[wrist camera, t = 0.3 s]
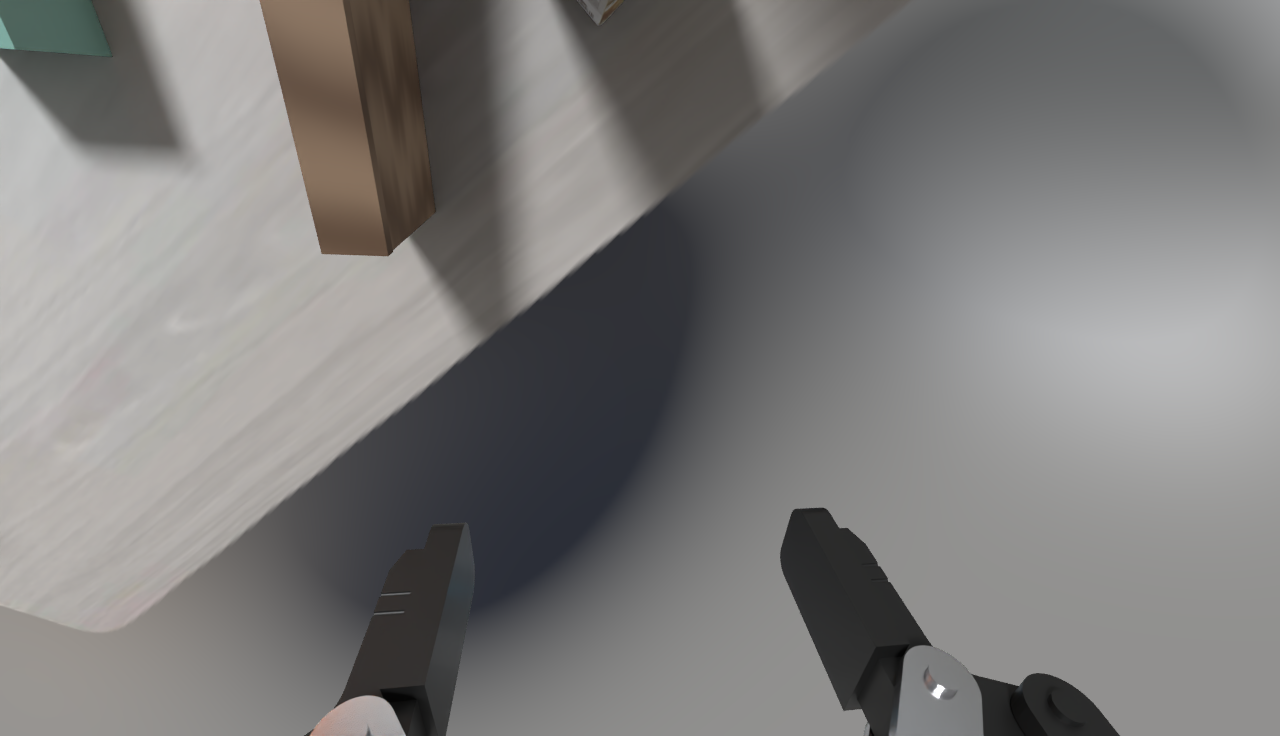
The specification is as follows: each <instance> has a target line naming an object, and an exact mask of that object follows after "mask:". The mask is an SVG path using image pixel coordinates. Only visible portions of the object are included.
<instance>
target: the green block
mask: <svg viewBox="0 0 1280 736" xmlns="http://www.w3.org/2000/svg"><path fill="white" fill-rule="evenodd" d="M0 48H4V49H17V50H29V51H42V52H55V53H68V54H81V55H94V56H106V57H113V56H112V54H111V51H110V48H109V46H108V43H107V41H106V38H105V35H104V33H103V30H102V27H101V25H100V22H99V20H98V17H97V14H96V12H95V9H94V6H93V4H92V1H91V0H0Z"/></svg>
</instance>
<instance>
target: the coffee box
mask: <svg viewBox="0 0 1280 736" xmlns="http://www.w3.org/2000/svg"><path fill="white" fill-rule="evenodd" d="M577 1H578V3H579V4H580V5H581V6H582V7H583V9H584V10H585V11H586V12H587V14H588V15H589V16H590V17H591V18H592V20H593V21H594V22H595V23H596V24H597V25H598V26H600V25H602V24H603V23H604V22H605V21H606V20H607V19H608V18H609V17H610V16H611V15H612V14H613V13H614V11H615V10H616V9H617V8H618V7H619V6H620V5H621V4H622V3H623V2H624V1H625V0H577Z"/></svg>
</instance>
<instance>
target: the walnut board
mask: <svg viewBox="0 0 1280 736" xmlns="http://www.w3.org/2000/svg"><path fill="white" fill-rule="evenodd" d="M260 4H261V8H262V12H263V16H264V20H265V24H266V28H267V32H268V36H269V40H270V45H271V49H272V53H273V57H274V61H275V65H276V69H277V73H278V77H279V81H280V85H281V89H282V93H283V98H284V102H285V106H286V110H287V114H288V118H289V122H290V126H291V130H292V134H293V138H294V142H295V147H296V151H297V155H298V159H299V163H300V167H301V171H302V175H303V179H304V183H305V187H306V191H307V196H308V200H309V204H310V208H311V212H312V216H313V220H314V224H315V228H316V232H317V236H318V240H319V245H320V249H321V253H322V254H339V255H368V256H389V255H390V254H391V253H392V252H393V250H394V249H395V248H396V247H397V246H398V245H399V244H400V243H402V242H403V241H404V240H405V239H406V238H407V237H408V236H409V235H411V234H412V233H413V232H414V231H415V230H416V229H417V228H418V227H420V226H421V225H422V224H423V223H424V222H425V221H426V220H427V219H429V218H430V217H431V216H432V215H433V214H434V213H435V212H436V211H435V203H434V195H433V187H432V179H431V171H430V163H429V155H428V147H427V139H426V132H425V124H424V116H423V108H422V100H421V92H420V84H419V76H418V68H417V60H416V52H415V44H414V36H413V28H412V20H411V12H410V4H409V0H260Z"/></svg>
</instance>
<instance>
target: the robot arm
mask: <svg viewBox="0 0 1280 736" xmlns="http://www.w3.org/2000/svg"><path fill="white" fill-rule="evenodd" d="M780 559H781V567H782V571H783V574H784V576H785V579H786V581H787V583H788V585H789V587H790V590H791V592H792V594H793V597H794V599H795V601H796V604H797V606H798V608H799V610H800V613H801V615H802V617H803V619H804V622H805V624H806V626H807V628H808V631H809V633H810V635H811V638H812V640H813V642H814V644H815V647H816V649H817V651H818V653H819V656H820V658H821V660H822V663H823V665H824V667H825V669H826V672H827V674H828V676H829V678H830V681H831V683H832V685H833V688H834V690H835V692H836V694H837V697H838V699H839V701H840V704H841V706H842V708H843V710H844V711H845V710H855V709H862V710H863V712H864V714H865V717H866V719H867V721H868V722H867V724H866V727H865V730H864V736H1120V735H1119V734H1118V733H1117V732H1116V731H1115V729H1114V728H1113V727H1112V726H1111V724H1110V723H1109V722H1108V720H1107V719H1106V718H1105V717H1104V715H1103V714H1102V713H1101V712H1100V710H1099V709H1098V708H1097V707H1096V706H1095V705H1094V703H1093V702H1092V701H1090V700H1089V699H1088V698H1087V697H1086V696H1085V695H1084V694H1083V693H1081V692H1080V691H1079V690H1078V689H1076V688H1075V687H1073V686H1072V685H1070V684H1069V683H1067V682H1065V681H1063V680H1061V679H1059V678H1057V677H1054V676H1051V675H1047V674H1040V673H1036V674H1031V675H1029V676H1027V677H1026V678H1025V679H1024V681H1023V682H1022V683H1021V684H1020V686H1015V685H1012V684H1008V683H1004V682H1000V681H996V680H992V679H987V678H983V677H979V676H976V675H973V674H971V673H970V672H969V671H968V670H967V668H966V667H965V666H964V665H963V664H961V663H960V662H959V661H958V660H957V659H955V658H954V657H953V656H951V655H950V654H948V653H946V652H944V651H943V650H940V649H938V648H935V647H933V646H932V645H931V644H930V642H929V641H928V639H927V638H926V636H925V635H924V634H923V632H922V630H921V629H920V627H919V626H918V624H917V623H916V621H915V619H914V618H913V616H912V615H911V613H910V612H909V610H908V609H907V607H906V606H905V604H904V603H903V601H902V599H901V598H900V597H899V595H898V593H897V592H896V590H895V589H894V587H893V586H892V584H891V583H890V582H888V578H887V576H886V575H885V573H884V572H883V570H882V569H881V567H878V564H877V561H876V559H875V558H874V556H873V555H872V553H871V552H870V551H869V549H868V547H867V546H866V544H865V543H864V542H862V541H861V540H860V539H859V538H858V537H857V536H856V535H855V534H853V533H852V532H851V531H850V530H849V529H848V528H839V527H838V526H837V524H836V522H835V521H834V519H833V517H832V516H831V514H830V513H829V512H828V510H827V509H825V508H806V509H795V510H793V512H792V514H791V517H790V520H789V524H788V527H787V531H786V534H785V537H784V540H783V544H782V547H781V554H780ZM474 581H475V568H474V559H473V553H472V546H471V539H470V533H469V526H468V524H467V523H455V524H435V525H433V526H432V527H431V530H430V532H429V536H428V539H427V542H426V545H425V548H424V549H415V550H406V552H405V553H404V554H403V555H402V556H401V557H400V559H399V560H398V561H397V562H396V563H395V564H394V566H393V567H392V568H391V569H390V571H389V573H388V576H387V579H386V581H385V584H384V586H383V589H382V592H381V597H379V600H378V602H377V605H376V608H375V610H374V616H373V617H372V618H371V621H370V624H369V627H368V629H367V632H366V634H365V637H364V640H363V642H362V645H361V648H360V650H359V653H358V656H357V658H356V661H355V664H354V666H353V669H352V672H351V674H350V677H349V679H348V682H347V685H346V688H345V690H344V692H343V694H342V696H341V698H340V700H339V702H338V703H337V705H336V706H335V707H334V709H333V710H332V711H330V712H329V713H328V714H327V715H326V716H325V717H324V718H323V719H322V720H321V721H320V722H319V723H318V724H317V725H316V727H315V728H314V729H313V730H312V731H310V732H309V733H307V734H306V735H304V736H446V731H447V726H448V721H449V716H450V711H451V705H452V700H453V695H454V690H455V685H456V680H457V674H458V669H459V664H460V658H461V654H462V648H463V643H464V638H465V633H466V627H467V622H468V618H469V612H470V607H471V602H472V596H473V590H474Z"/></svg>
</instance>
